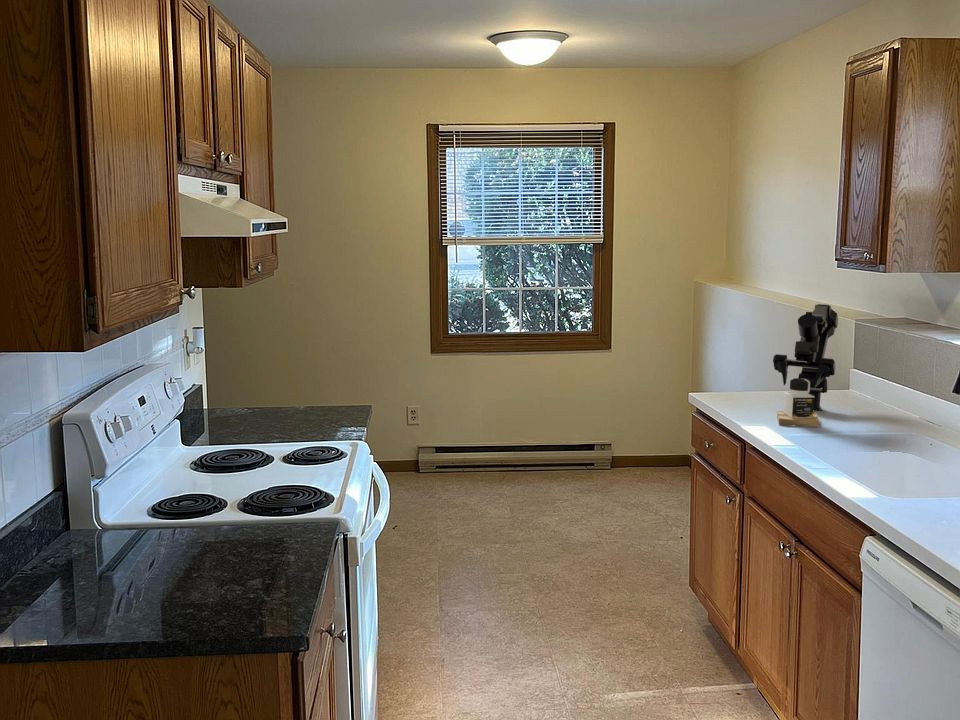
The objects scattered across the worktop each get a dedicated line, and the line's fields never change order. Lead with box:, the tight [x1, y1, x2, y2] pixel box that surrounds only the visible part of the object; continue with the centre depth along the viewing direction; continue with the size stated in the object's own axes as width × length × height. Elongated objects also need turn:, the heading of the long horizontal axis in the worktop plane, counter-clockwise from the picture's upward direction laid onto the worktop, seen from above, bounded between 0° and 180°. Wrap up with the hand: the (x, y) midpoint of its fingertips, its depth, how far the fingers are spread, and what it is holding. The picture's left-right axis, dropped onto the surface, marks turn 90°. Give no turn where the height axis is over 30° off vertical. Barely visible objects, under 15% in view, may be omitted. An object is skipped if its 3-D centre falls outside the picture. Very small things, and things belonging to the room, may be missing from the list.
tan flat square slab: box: [776, 410, 820, 428], centre depth 306 cm, size 12×12×2 cm
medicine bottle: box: [782, 377, 815, 418], centre depth 305 cm, size 7×7×12 cm
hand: (799, 385), depth 303 cm, fingers open, 9 cm apart
